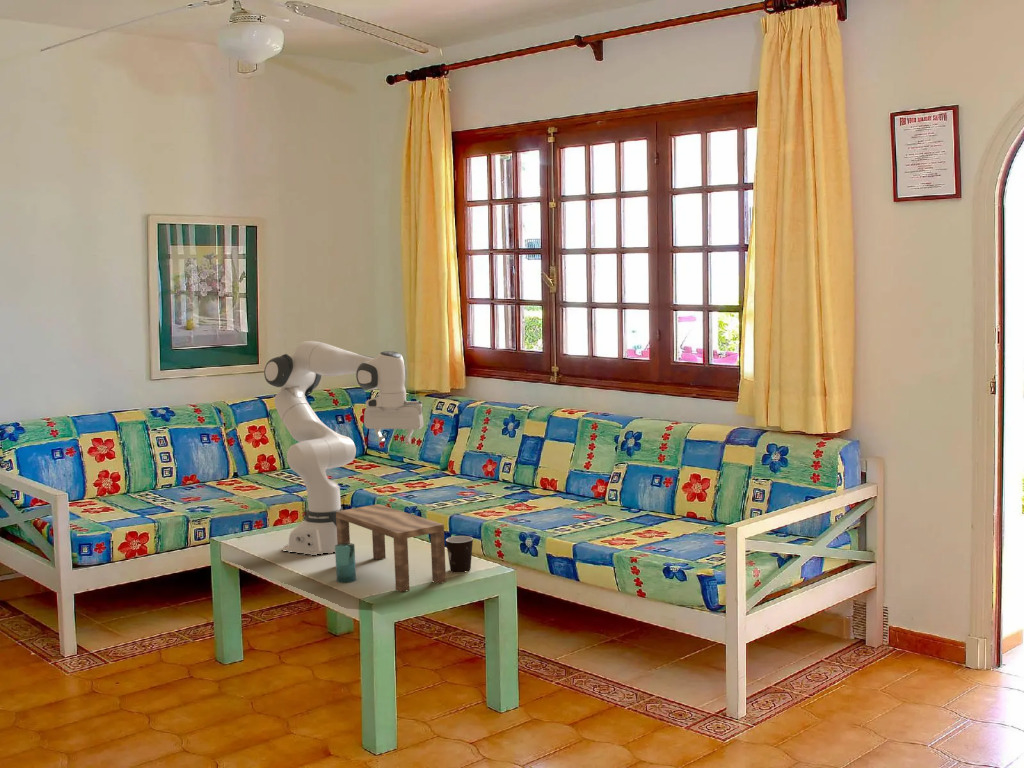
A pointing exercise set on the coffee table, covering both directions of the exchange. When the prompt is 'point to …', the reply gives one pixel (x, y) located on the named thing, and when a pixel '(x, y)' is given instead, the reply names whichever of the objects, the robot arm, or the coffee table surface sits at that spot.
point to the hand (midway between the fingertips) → (394, 442)
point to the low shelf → (395, 537)
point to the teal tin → (345, 562)
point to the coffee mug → (459, 553)
